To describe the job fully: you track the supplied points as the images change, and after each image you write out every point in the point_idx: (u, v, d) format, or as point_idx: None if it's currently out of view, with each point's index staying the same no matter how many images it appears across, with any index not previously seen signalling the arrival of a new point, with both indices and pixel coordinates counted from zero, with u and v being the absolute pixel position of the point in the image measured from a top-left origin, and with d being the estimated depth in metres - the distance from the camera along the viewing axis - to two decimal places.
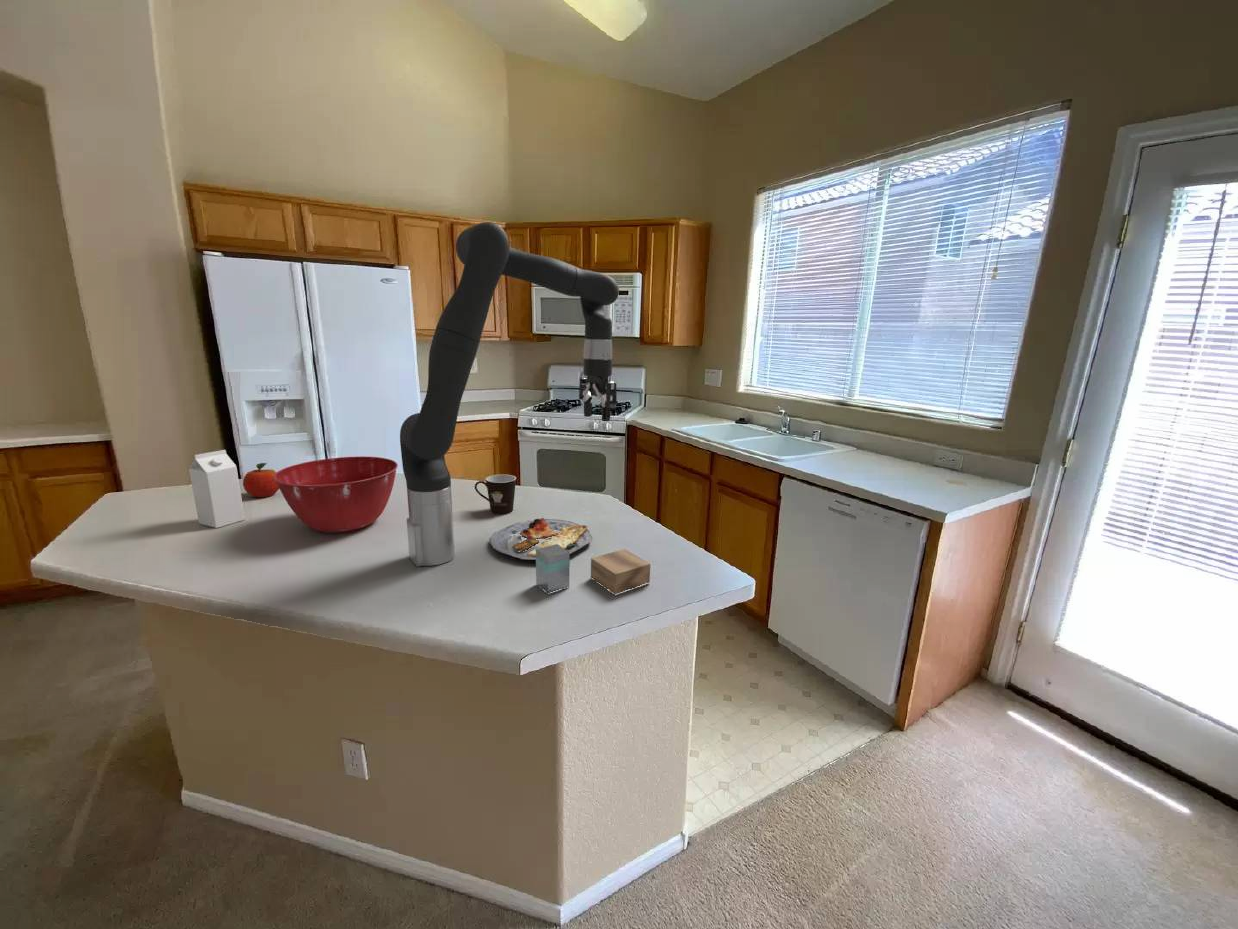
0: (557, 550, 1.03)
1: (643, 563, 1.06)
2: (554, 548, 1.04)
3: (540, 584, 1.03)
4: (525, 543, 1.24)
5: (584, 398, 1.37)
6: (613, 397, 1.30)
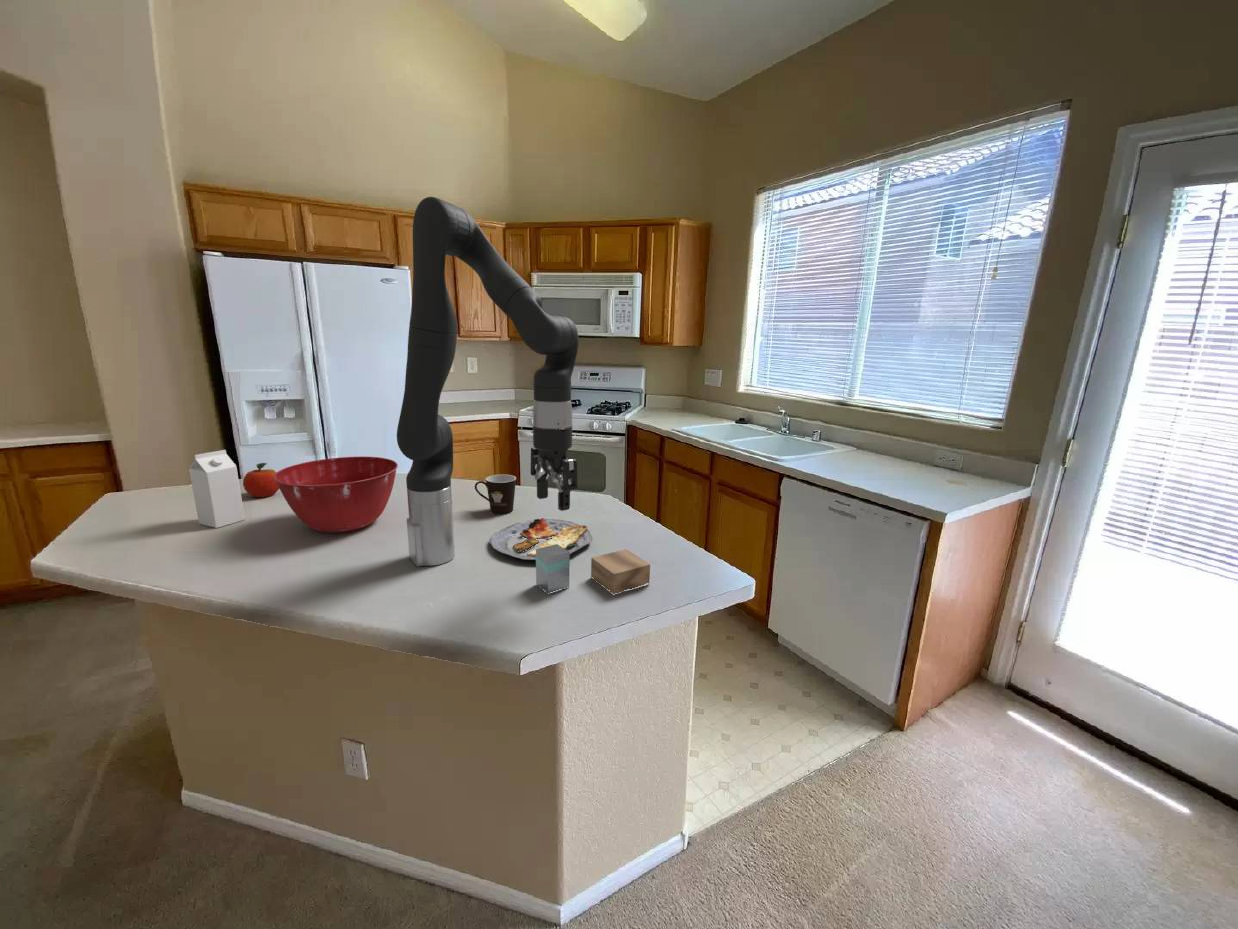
0: (557, 550, 1.03)
1: (643, 563, 1.05)
2: (554, 548, 1.04)
3: (540, 584, 1.03)
4: (525, 543, 1.24)
5: (537, 475, 1.02)
6: (573, 480, 0.94)
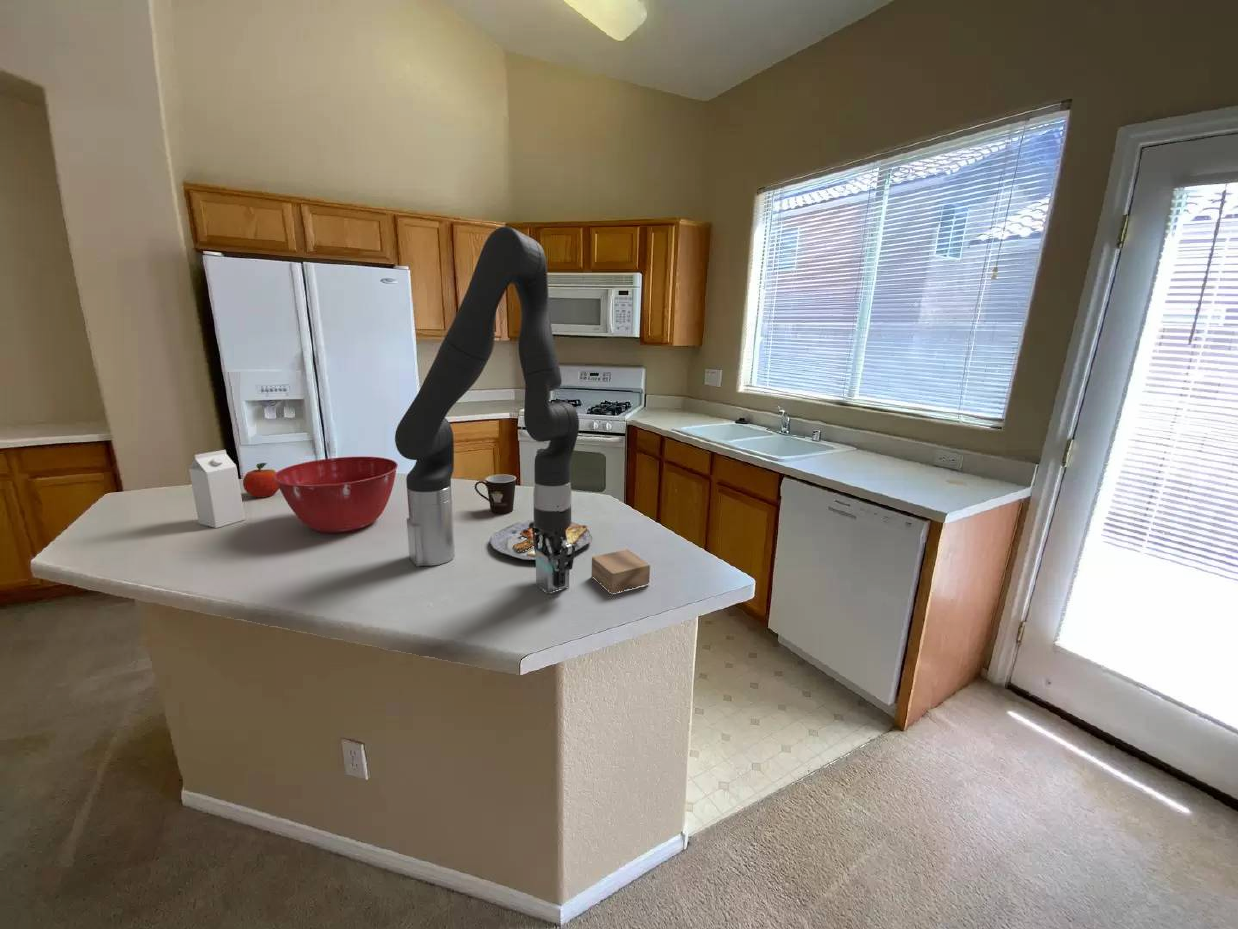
0: None
1: (643, 564, 1.05)
2: None
3: (540, 584, 1.03)
4: (525, 543, 1.24)
5: None
6: (569, 561, 0.99)
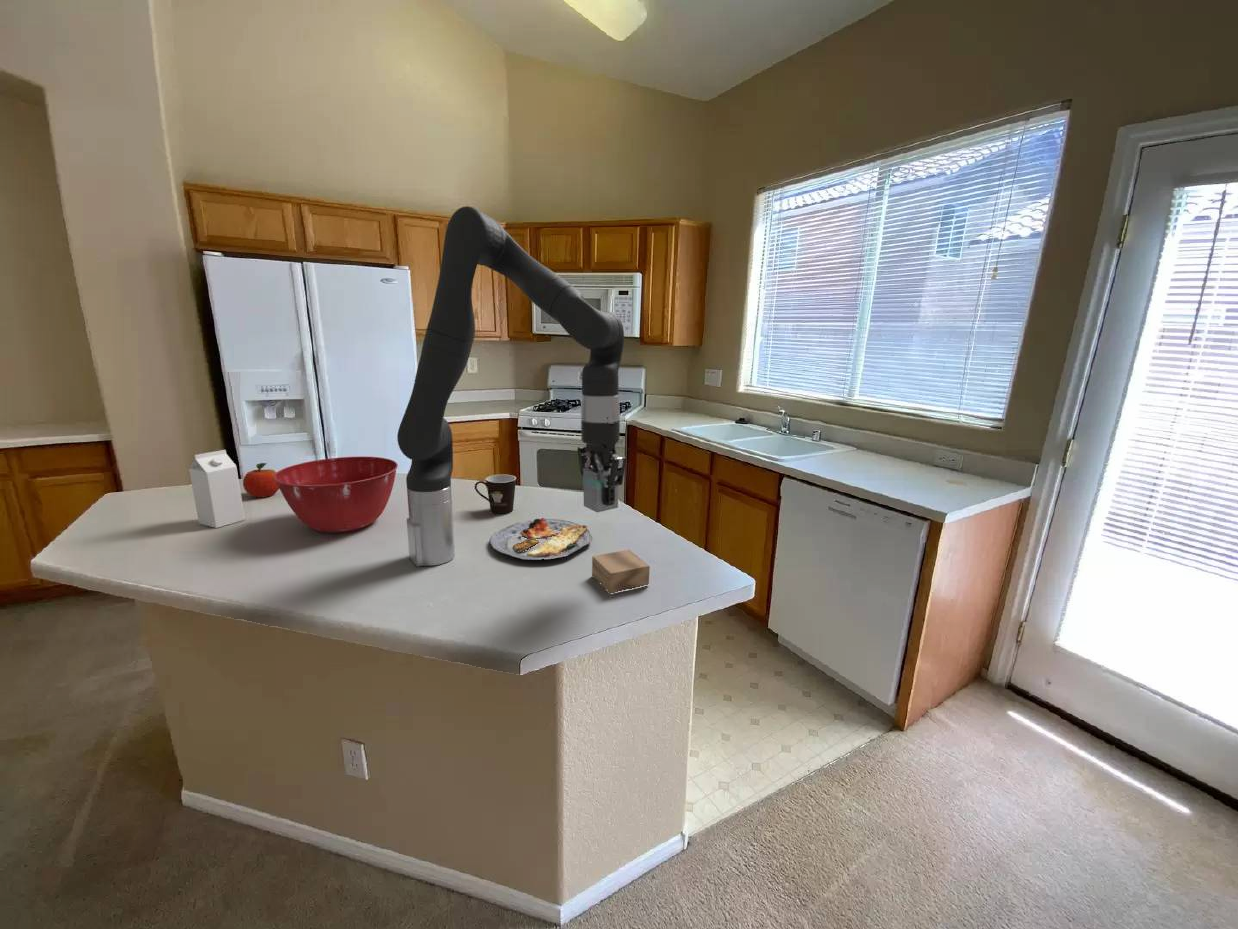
0: None
1: (642, 565, 1.05)
2: None
3: (588, 504, 1.01)
4: (525, 543, 1.24)
5: None
6: (619, 476, 0.97)
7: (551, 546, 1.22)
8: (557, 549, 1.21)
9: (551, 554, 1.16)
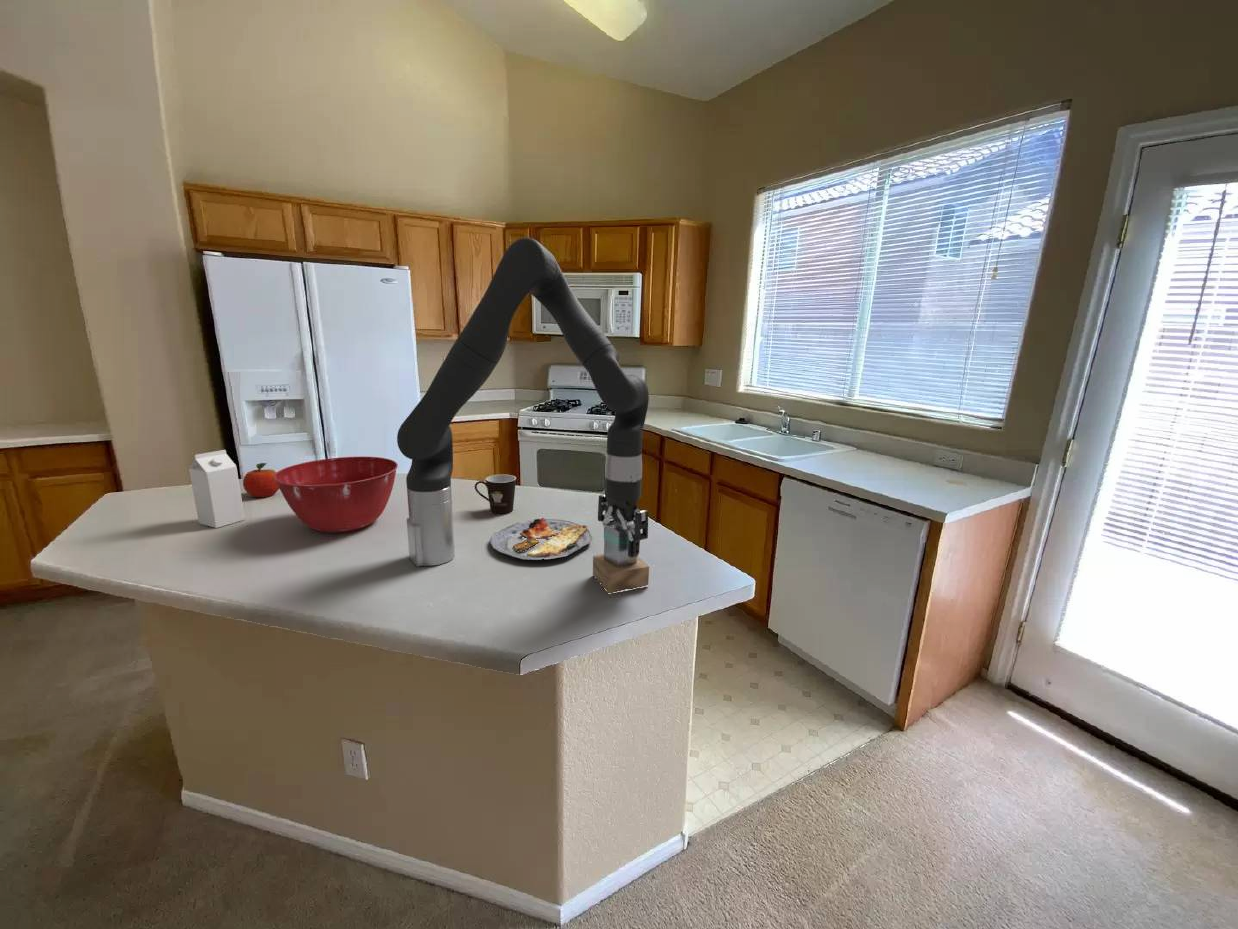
0: None
1: (642, 565, 1.05)
2: None
3: (609, 558, 1.05)
4: (525, 543, 1.24)
5: (605, 522, 1.07)
6: (643, 529, 1.00)
7: (551, 546, 1.22)
8: (557, 549, 1.21)
9: (551, 554, 1.16)
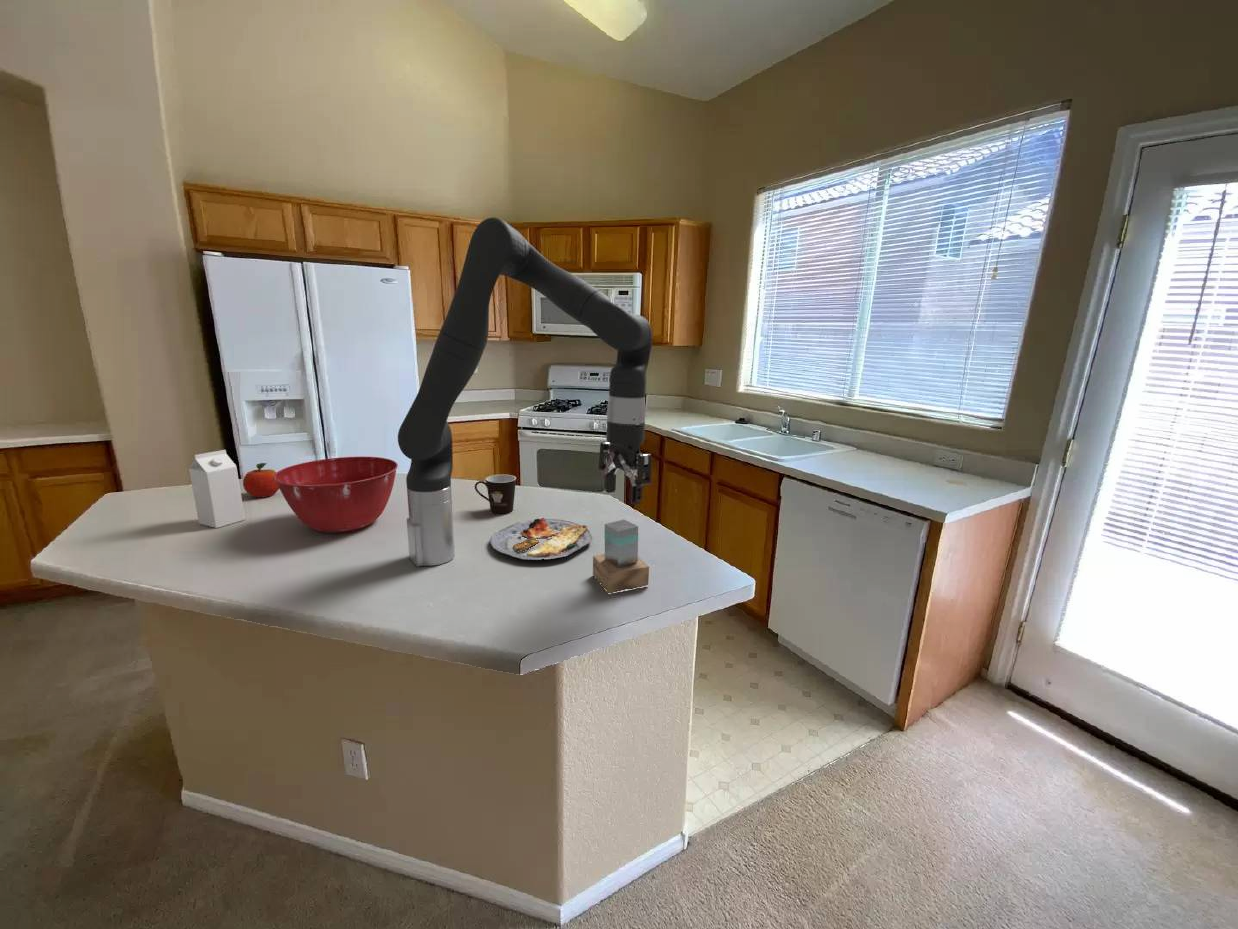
0: (625, 524, 1.05)
1: (642, 565, 1.05)
2: (622, 523, 1.06)
3: (609, 558, 1.05)
4: (525, 543, 1.24)
5: (606, 469, 1.04)
6: (646, 474, 0.97)
7: (551, 546, 1.22)
8: (557, 549, 1.21)
9: (551, 554, 1.16)
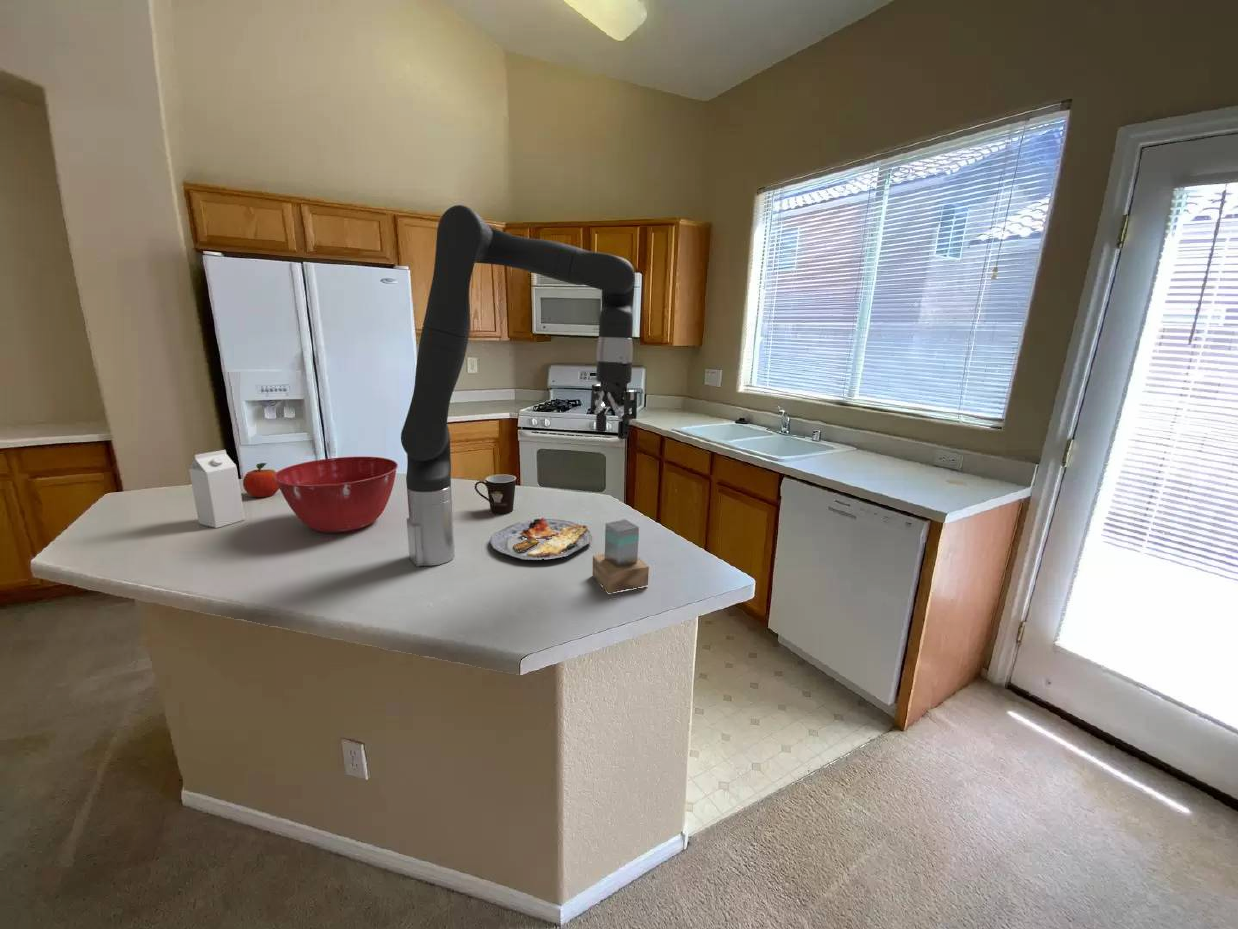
0: (626, 524, 1.05)
1: (641, 565, 1.05)
2: (623, 523, 1.06)
3: (609, 558, 1.06)
4: (525, 543, 1.24)
5: (597, 409, 1.12)
6: (632, 409, 1.04)
7: (551, 546, 1.22)
8: (557, 549, 1.21)
9: (551, 554, 1.16)
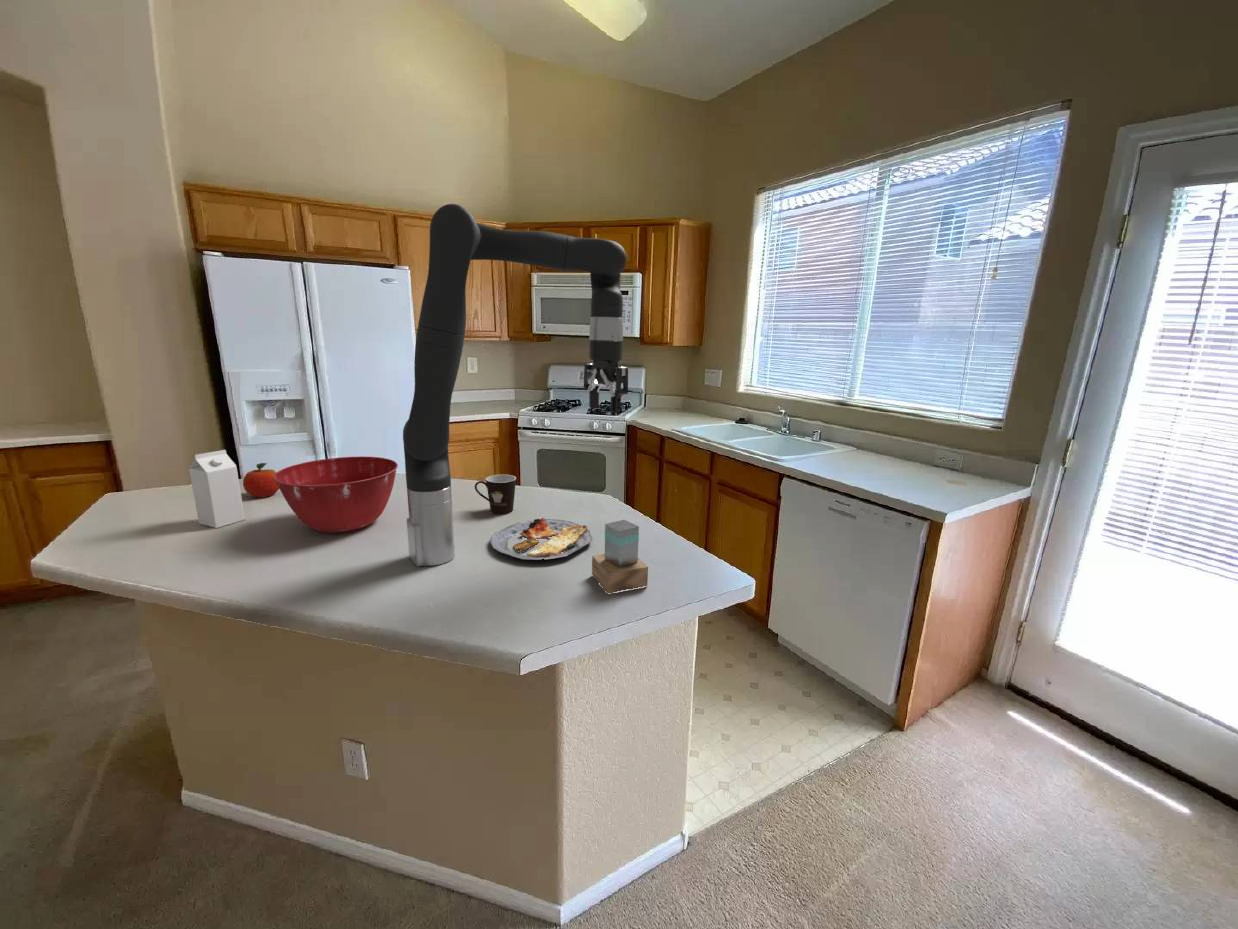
0: (626, 524, 1.05)
1: (641, 565, 1.05)
2: (623, 523, 1.06)
3: (610, 558, 1.05)
4: (525, 543, 1.24)
5: (590, 387, 1.18)
6: (624, 385, 1.11)
7: (551, 546, 1.22)
8: (557, 549, 1.21)
9: (551, 554, 1.16)
